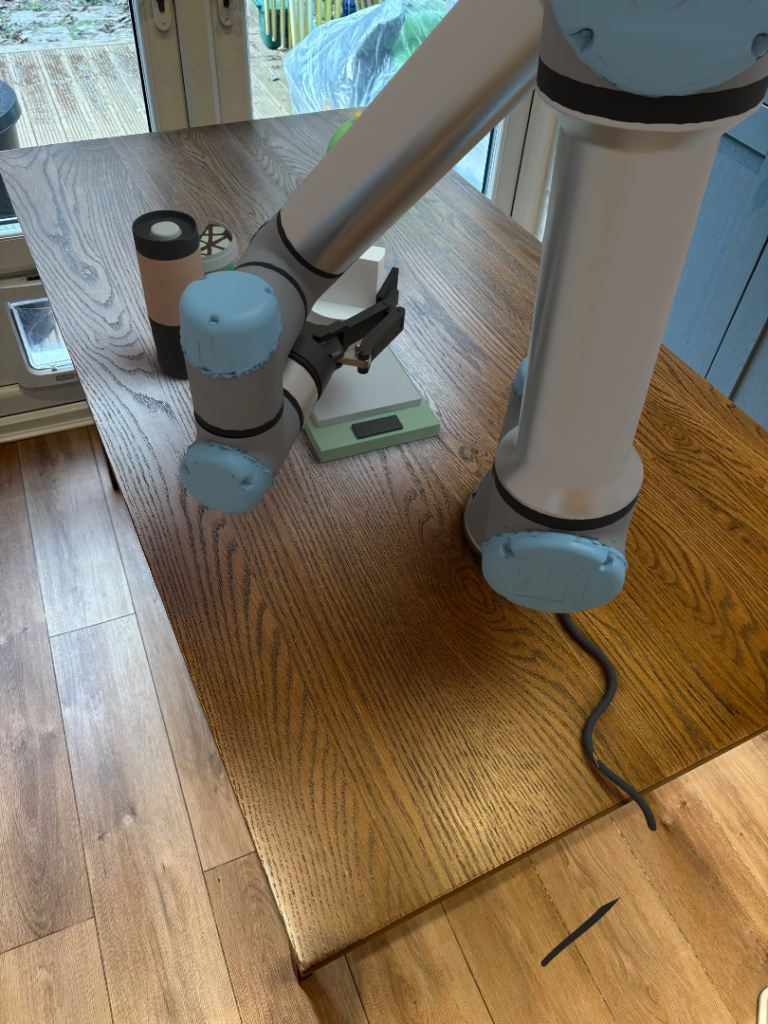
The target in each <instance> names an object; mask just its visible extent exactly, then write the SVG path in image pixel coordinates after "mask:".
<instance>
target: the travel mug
mask: <svg viewBox="0 0 768 1024" xmlns="http://www.w3.org/2000/svg"><path fill="white" fill-rule="evenodd" d="M131 230H132V237H133V243H134V247H135V253H136V259H137V264H138V270H139V275H140V281H141V286H142V291H143V298H144V302H145V308H146V312H147V318H148V321H149V326H150V330H151V333H152V334H151V335H152V338H153V339H152V340H153V343H154V347H155V352H156V356H157V360H158V364H159V367H160V370H161V371H162V372H163V374H165V375H166V376H168V377H170V378H173V379H176V380H188V374H187V369H186V363H185V358H184V352H183V351H182V346H181V343H180V339H181V336H180V315H179V302H180V298H181V295H182V293H183V291H184V290H185V289H186V288H187V286H188V285H189V284H190V283H192V282H193V281H198V280H203V278H204V270H203V263H202V256H201V248H200V241H199V236H200V233H199V227H198V223H197V221H196V219H195V218H194V217H193V216H192V215H190V214H189V213H186V212H184V211H180V210H175V209H157V210H152V211H149V212H145V213H143V214H141V215H139V216H138V217H136V218H135V219H134V220H133V222H132V225H131Z"/></svg>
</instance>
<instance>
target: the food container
mask: <svg viewBox="0 0 768 1024" xmlns="http://www.w3.org/2000/svg"><path fill="white" fill-rule="evenodd" d="M206 223H207V226H206V227H205V229H204V230H203V232H201V234H199V241H200V248H201V256H202V263H203V270H204V276H205V275H207V274H210V273H214V272H219V271H232V270H233V269H234V267H235V259H236V258H237V257H238V255H239V251H240V250H239V246H238V242H237V239H236V236H235V234H234V232H233V230H232V229H231V228H230V227H229V226H228V225H227V224H225V223H223V222H221V221H220V220H216V219H213V218H209V217H208V218H206Z"/></svg>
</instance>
